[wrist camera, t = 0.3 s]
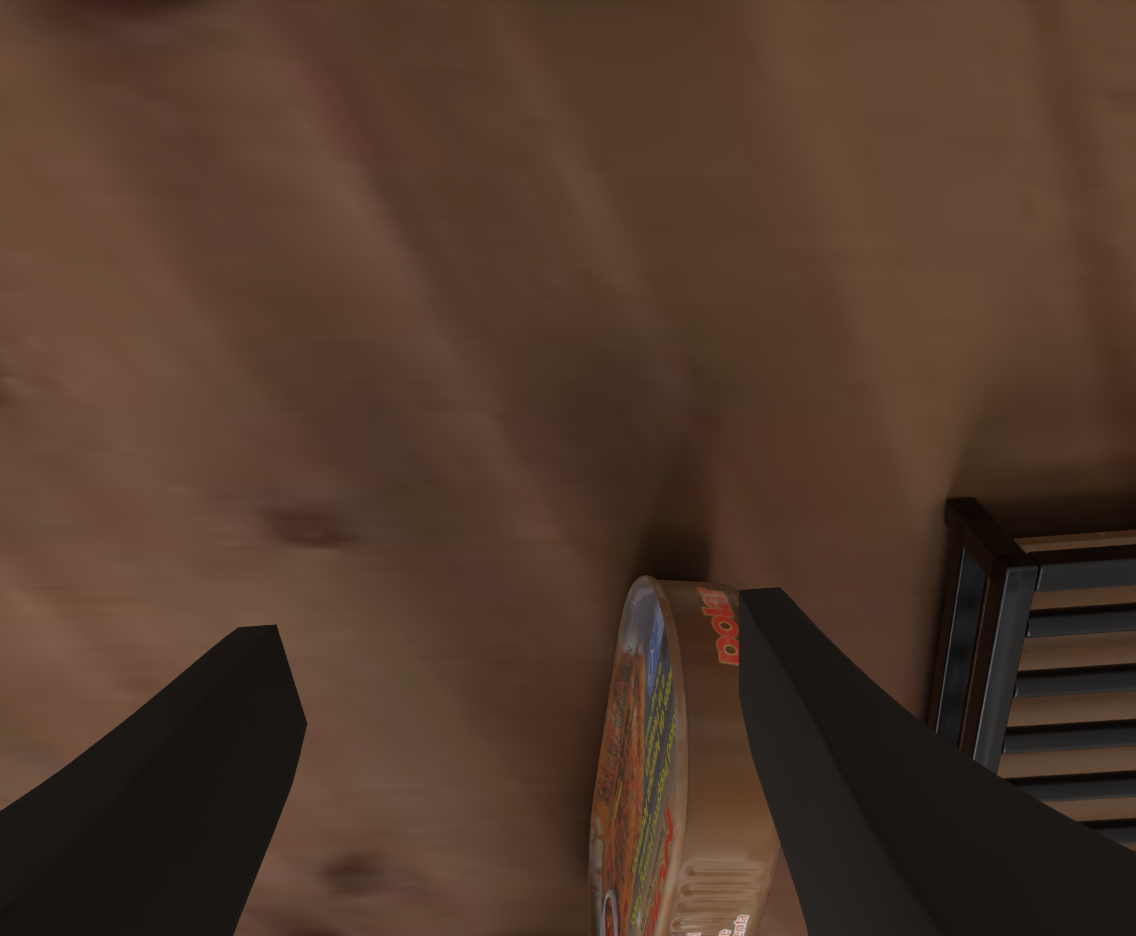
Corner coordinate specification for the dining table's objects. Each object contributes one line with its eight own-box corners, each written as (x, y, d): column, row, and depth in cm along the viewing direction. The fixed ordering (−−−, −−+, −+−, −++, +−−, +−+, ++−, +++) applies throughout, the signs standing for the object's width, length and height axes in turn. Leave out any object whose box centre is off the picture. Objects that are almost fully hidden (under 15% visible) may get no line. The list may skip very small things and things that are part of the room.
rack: (1175, 863, 29) (1247, 959, 26) (894, 879, 30) (932, 976, 27) (1318, 469, 22) (1440, 537, 19) (946, 498, 23) (1006, 568, 19)
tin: (635, 516, 23) (667, 739, 15) (745, 526, 23) (831, 752, 15) (580, 872, 30) (583, 1149, 22) (665, 878, 30) (698, 1155, 22)
